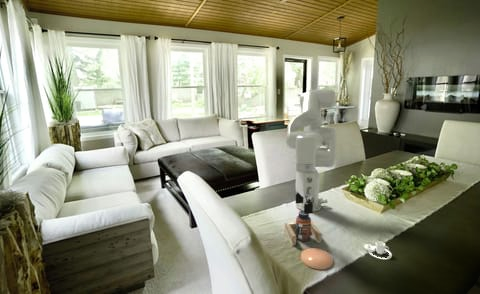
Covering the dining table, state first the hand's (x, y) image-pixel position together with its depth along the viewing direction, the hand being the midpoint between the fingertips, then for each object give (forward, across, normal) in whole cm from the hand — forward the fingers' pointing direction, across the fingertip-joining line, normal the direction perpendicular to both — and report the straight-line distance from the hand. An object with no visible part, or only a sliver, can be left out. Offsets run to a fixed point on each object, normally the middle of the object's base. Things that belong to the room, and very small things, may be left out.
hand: (303, 207), depth 103 cm
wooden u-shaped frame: (+14, +1, 0) cm, 14 cm away
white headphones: (+14, -10, -26) cm, 31 cm away
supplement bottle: (+14, +1, 0) cm, 14 cm away
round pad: (+14, -13, 0) cm, 19 cm away
